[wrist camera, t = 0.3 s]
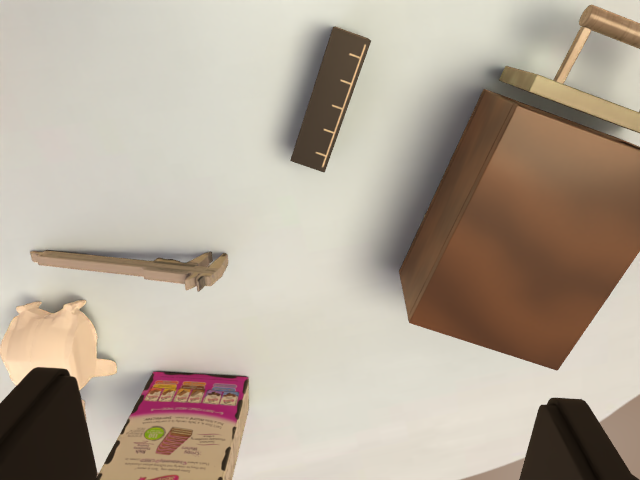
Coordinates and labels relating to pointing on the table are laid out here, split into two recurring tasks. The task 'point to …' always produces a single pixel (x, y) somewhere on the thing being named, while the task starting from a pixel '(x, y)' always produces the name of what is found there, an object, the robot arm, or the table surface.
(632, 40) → the drawer
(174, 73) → the table surface
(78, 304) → the peach plush toy
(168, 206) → the table surface
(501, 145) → the cabinet
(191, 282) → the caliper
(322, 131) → the ruler
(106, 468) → the candy bar box
